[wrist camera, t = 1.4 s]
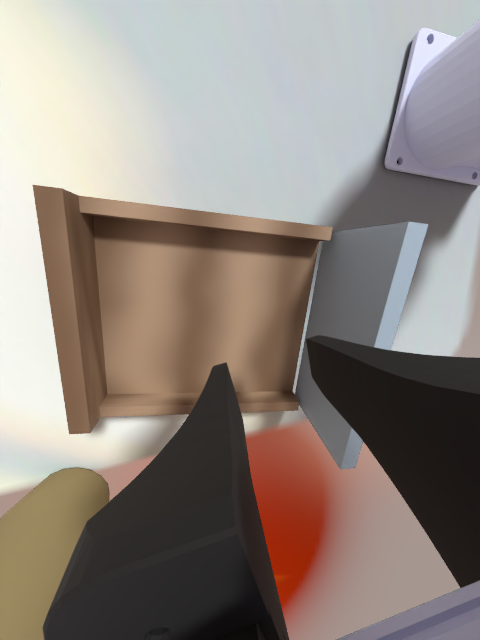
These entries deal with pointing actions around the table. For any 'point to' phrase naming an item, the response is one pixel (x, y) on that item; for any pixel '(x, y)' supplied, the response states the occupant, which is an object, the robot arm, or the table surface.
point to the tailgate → (356, 312)
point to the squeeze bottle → (43, 546)
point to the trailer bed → (171, 304)
